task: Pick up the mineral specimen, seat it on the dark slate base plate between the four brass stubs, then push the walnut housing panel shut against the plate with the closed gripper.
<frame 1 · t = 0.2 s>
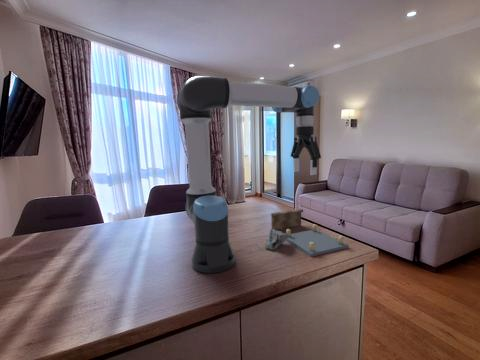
hand: (304, 173, 115), 27 cm above the counter, fingers open, 13 cm apart
mineral specimen: (277, 246, 102), on the counter
housing panel: (287, 219, 121), point 4 cm above the counter, slide at 0.0 cm
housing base: (313, 242, 104), on the counter
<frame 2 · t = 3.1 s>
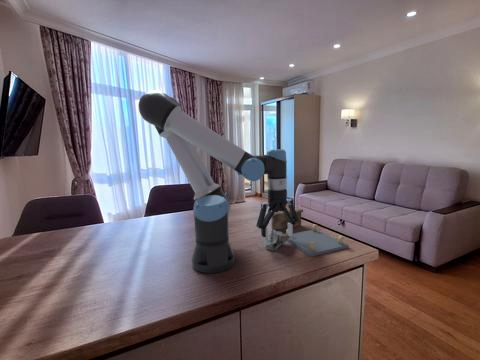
hand: (278, 241, 102), 2 cm above the counter, fingers open, 11 cm apart
mineral specimen: (277, 247, 102), on the counter, touching gripper
everything else where it was.
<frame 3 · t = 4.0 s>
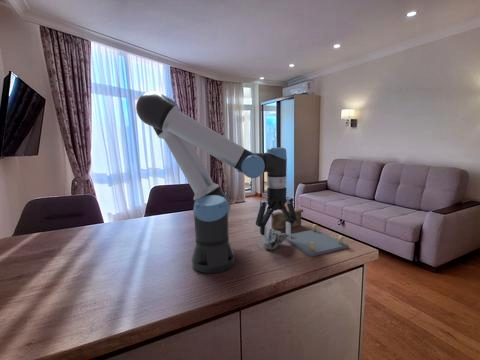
hand: (276, 239, 102), 2 cm above the counter, fingers closed on mineral specimen, 10 cm apart
mineral specimen: (276, 246, 101), on the counter, touching gripper
everything else where it was.
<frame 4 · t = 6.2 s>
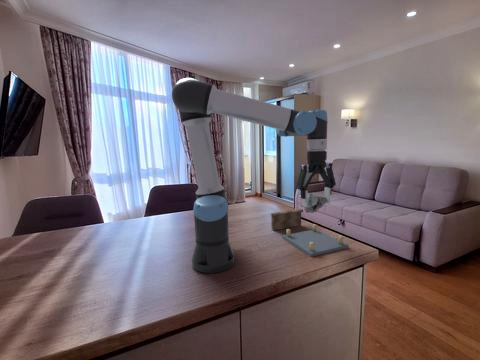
hand: (316, 204, 102), 16 cm above the counter, fingers closed on mineral specimen, 10 cm apart
mineral specimen: (316, 210, 101), point 14 cm above the counter, touching gripper
everything else where it was.
when the fingers open (4 cm above the counter, at t = 8.4 s): mineral specimen stays where it is, resting on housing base.
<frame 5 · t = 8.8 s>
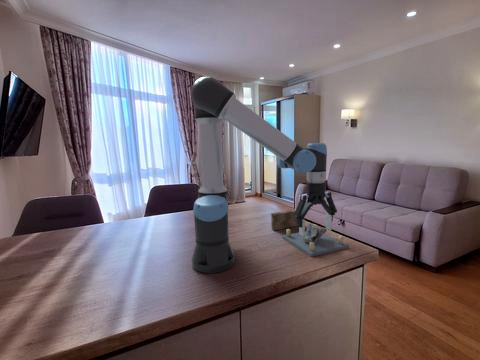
hand: (315, 232, 104), 5 cm above the counter, fingers open, 13 cm apart
mineral specimen: (315, 240, 103), point 1 cm above the counter, touching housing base
everything else where it was.
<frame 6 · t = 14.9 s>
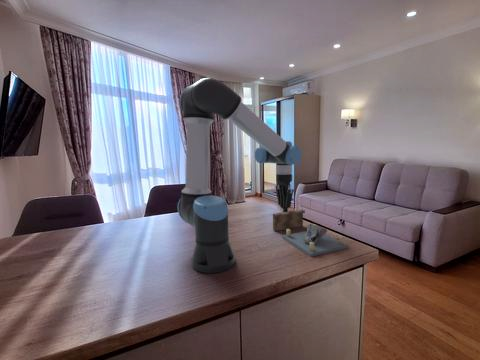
hand: (284, 220, 124), 3 cm above the counter, fingers closed
housing panel: (289, 220, 120), point 4 cm above the counter, slide at 1.4 cm, touching gripper
everything else where it was.
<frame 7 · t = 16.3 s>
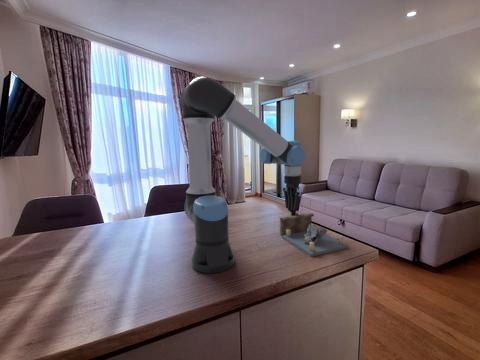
hand: (292, 224, 118), 3 cm above the counter, fingers closed
housing panel: (297, 224, 114), point 4 cm above the counter, slide at 8.1 cm, touching gripper
everything else where it was.
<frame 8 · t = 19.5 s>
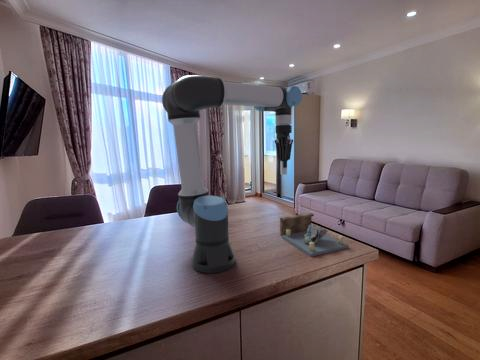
hand: (283, 174, 121), 26 cm above the counter, fingers closed
housing panel: (297, 224, 114), point 4 cm above the counter, slide at 8.0 cm
everything else where it was.
at the end: mineral specimen inside the target area on the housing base (1.4 cm from its centre), point 1.0 cm above the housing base's base; mineral specimen touching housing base; housing panel slide at 8.0 cm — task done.
